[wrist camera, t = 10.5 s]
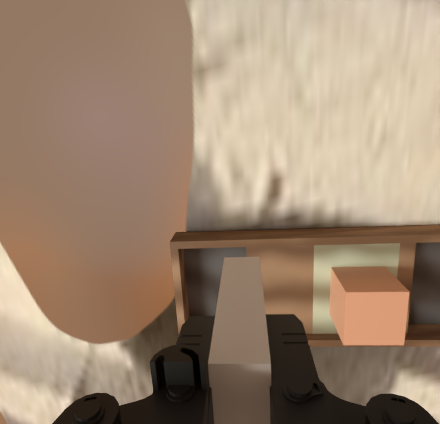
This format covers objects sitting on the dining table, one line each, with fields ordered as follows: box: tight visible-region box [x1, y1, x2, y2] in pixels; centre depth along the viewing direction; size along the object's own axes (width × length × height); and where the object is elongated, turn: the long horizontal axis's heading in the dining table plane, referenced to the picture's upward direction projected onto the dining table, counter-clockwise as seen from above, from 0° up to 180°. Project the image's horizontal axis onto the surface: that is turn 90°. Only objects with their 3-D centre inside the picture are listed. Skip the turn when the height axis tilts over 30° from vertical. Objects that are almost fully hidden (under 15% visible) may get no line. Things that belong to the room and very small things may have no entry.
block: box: [329, 266, 409, 345], centre depth 43 cm, size 7×7×7 cm
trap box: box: [170, 225, 440, 347], centre depth 47 cm, size 16×42×4 cm, turn 93°
